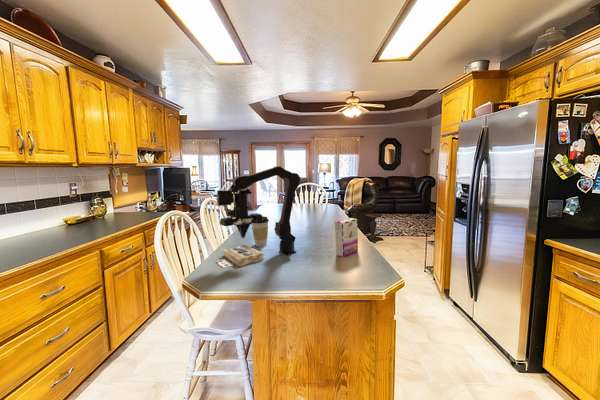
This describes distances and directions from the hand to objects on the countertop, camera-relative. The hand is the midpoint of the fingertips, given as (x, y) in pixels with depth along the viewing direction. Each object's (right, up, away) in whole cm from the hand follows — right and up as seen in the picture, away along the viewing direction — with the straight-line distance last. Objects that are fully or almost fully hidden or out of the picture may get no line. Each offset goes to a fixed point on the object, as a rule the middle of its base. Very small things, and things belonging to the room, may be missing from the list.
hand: (242, 237), depth 124 cm
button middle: (-1, -8, +4) cm, 9 cm away
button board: (-1, -10, +5) cm, 11 cm away
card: (-8, -11, -3) cm, 14 cm away
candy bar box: (+49, -9, +6) cm, 50 cm away
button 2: (+2, -10, 0) cm, 10 cm away
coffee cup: (+5, -7, +25) cm, 26 cm away
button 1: (-4, -9, +9) cm, 13 cm away
